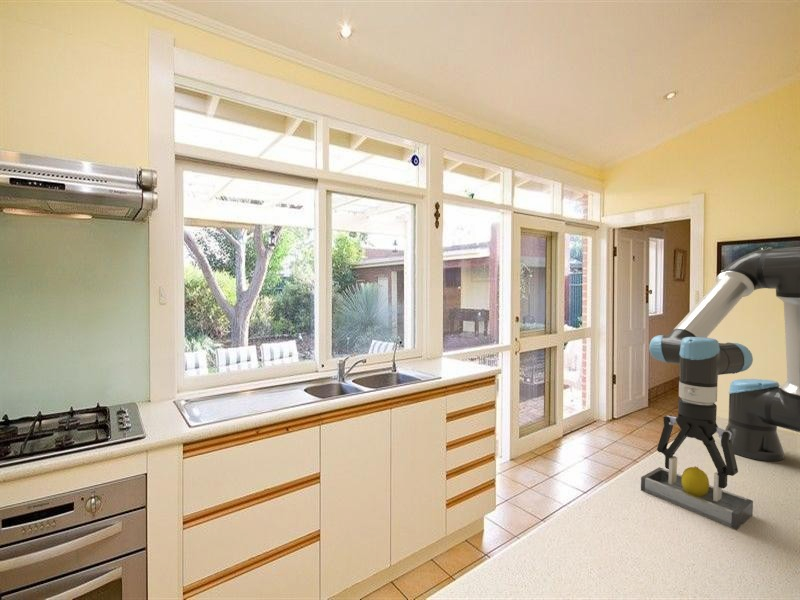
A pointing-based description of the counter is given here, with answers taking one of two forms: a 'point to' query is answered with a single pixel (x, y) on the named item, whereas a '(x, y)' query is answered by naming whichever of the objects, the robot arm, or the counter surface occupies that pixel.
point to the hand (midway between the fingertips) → (693, 490)
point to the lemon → (695, 481)
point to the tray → (699, 499)
